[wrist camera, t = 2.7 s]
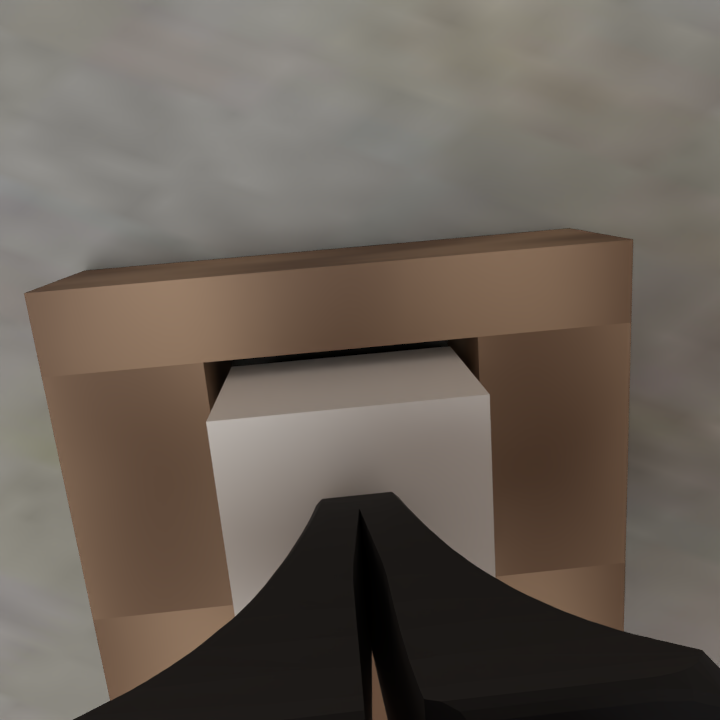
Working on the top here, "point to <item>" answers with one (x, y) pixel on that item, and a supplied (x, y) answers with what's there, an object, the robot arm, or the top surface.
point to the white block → (349, 452)
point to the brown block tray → (327, 333)
